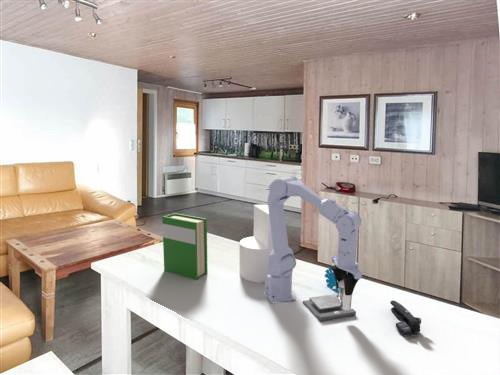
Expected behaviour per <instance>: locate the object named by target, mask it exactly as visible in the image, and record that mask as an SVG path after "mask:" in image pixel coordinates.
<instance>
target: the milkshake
mask: <svg viewBox="0 0 500 375" xmlns="http://www.w3.org/2000/svg"><path fill="white" fill-rule="evenodd" d="M336 280H337V279H336ZM337 282H338V281H337ZM338 285H339V288H338V292H339V299H340V307H341V309H342V310H350V309H352V301H353V300H352V298H353V294H352V295H347V296H346V295H345V286H344V280H342V281H340V282H339V283H338Z"/></svg>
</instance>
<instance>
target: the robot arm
mask: <svg viewBox="0 0 500 375" xmlns="http://www.w3.org/2000/svg"><path fill="white" fill-rule="evenodd" d="M268 190H269V193H268V196H267V205H268V209H269V218H270V226H271V235H272V243H273V250H272V251H271V253H270V255H269V263H268V269H269V271H270V273H271V274H269V275H266V277H265V282H264V292H263V294H264V296H265V297H266V299H268V301H269V302H270V303H271V304H275V303H283V302H289V301H296V300H297V299H296V297H295V296H294V295H293V294H292V287H293V284H292V283H293V270H294V269H295V267H297V266H296V265H297V260H296V256H295V255H294V251H293V249H292V248H290V246H289V241H288V234H287V225H286V224H287V222H286V216H285V208H284V204H285V203H286V201H288V199H289V198H290V197H300V198H301V199H302V200H304V201H305V202H307V203H309V204H310V205H312V206H314V207H315V208H317V210H318V213H319V214H320V215H321V216H322V217H324V218H325V219H326V220H327V221H329V222H331V223H332V224H334V225H335V228H336V229H337V232H338V234H337V235H338V236H337V237H338V238H337V249H336V250H337V252H336V253H337V255H331V261H330V262H331V263H334V265H332V266H330V268H331V269H332V272H333V273H334V276H335V280H336V279H337V280H336V285H337V288H338V289H339V285H338V283H339V282H340V281H342V280H344V286H345V295H346V296H347V295H352V296H353V293H354V291H355V287H356V285H357V283H358V282H359V280H362V278H363V277H362V276H363V272H362V271H360V269H359V267H358V266H359V263H358V262H357V261H356V259H357V247H358V233H359V232H358V229H359V228H360V227H361V225H362V218H361V217H360V216H361V215H360V214H359V213H357V212H356V211H354V210H349V209H347V208H346V207H345V208H344V207H342V206H341V205H340V204H338V203H337V200H335V199H334V198H332V199H331V198H326V199H324V198H323V197H321V196H320V195H318V193H316V192H315V191H314V190H312V189H311V188H309V187H308V186H307V185H306V184H305V183H304V182H303V181H302V180H301V179H298V178H297V177H296V176H289V177H288V176H287V177H284V178H283V177H282V178H276V179H274V180H272V182H271V183H270V184H269V186H268ZM337 281H338V282H337Z"/></svg>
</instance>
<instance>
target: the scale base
mask: <svg viewBox="0 0 500 375" xmlns="http://www.w3.org/2000/svg"><path fill="white" fill-rule="evenodd" d="M302 304H303V305H304V306H305V307H306V308H307V309H308V310H309V311H310V313H312V315H314V317H315V318H316V319H317V320H318V321H319V322H320V323H322V322H328V321H334V320H341V319H348V318H352V317H356V316H357V311H356V310H355V309H353V308H351V309H350V310H342V309H341V307H339V308H332V309H326V310H319V309H318V308H317V307H316V306H315V305H314V304H313V303H312V302H311V301H310V300H309V299H307V300H302Z"/></svg>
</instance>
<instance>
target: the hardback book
mask: <svg viewBox="0 0 500 375" xmlns="http://www.w3.org/2000/svg"><path fill="white" fill-rule="evenodd" d="M207 226H208V218H205V217H199V216H193V215H187V214H183V213H176V212H174V213H170V214H167V215H164V216H162V237H163V238H162V244H163V245H162V247H163V248H162V249H163V271H164V272H168V273H170V274H174V275H178V276H181V277H184V278H188V279H192V280H195V281H197V280H198V278H199V277H200V276H202V275H208V227H207Z"/></svg>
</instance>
